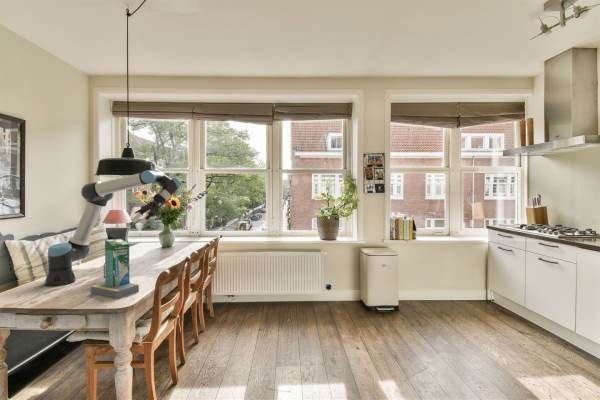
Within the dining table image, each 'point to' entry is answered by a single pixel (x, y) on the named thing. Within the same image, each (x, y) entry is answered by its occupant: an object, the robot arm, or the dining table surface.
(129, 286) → the plate
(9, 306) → the dining table surface
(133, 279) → the dining table surface
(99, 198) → the robot arm
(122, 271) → the milk carton
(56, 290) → the dining table surface
